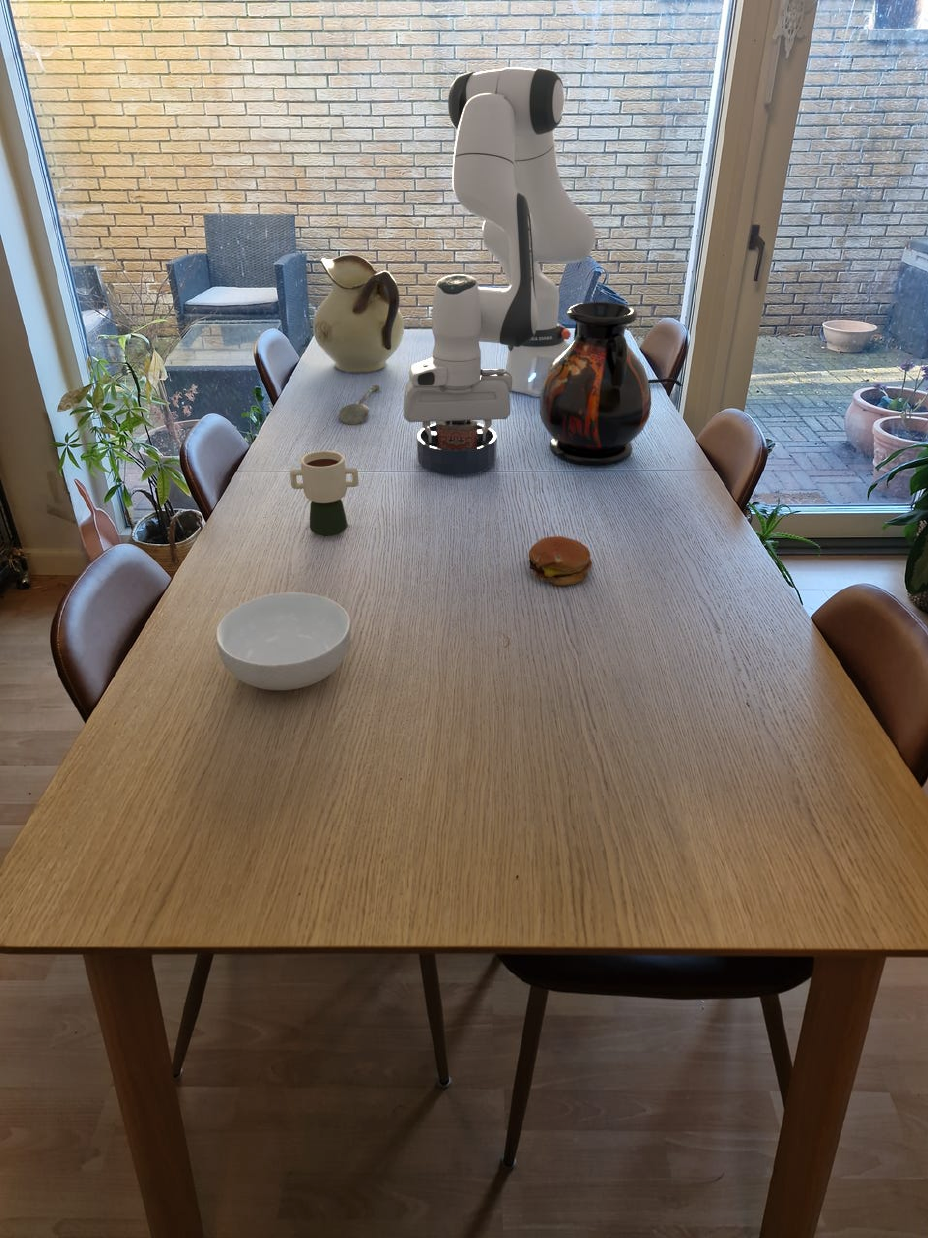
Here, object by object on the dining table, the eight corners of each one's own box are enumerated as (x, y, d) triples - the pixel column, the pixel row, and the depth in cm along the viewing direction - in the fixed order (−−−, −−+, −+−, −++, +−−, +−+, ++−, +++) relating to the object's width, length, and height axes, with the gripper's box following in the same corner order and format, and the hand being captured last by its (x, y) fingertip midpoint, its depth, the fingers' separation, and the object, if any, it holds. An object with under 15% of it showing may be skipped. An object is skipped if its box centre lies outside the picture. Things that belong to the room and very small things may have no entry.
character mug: (361, 520, 152) (357, 449, 145) (361, 539, 146) (356, 466, 139) (297, 522, 151) (289, 451, 144) (294, 542, 145) (286, 468, 138)
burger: (579, 554, 142) (581, 528, 139) (598, 583, 134) (600, 556, 132) (520, 560, 140) (521, 534, 138) (535, 590, 133) (536, 563, 130)
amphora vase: (520, 440, 183) (526, 299, 167) (615, 428, 188) (628, 291, 173) (562, 481, 165) (572, 329, 150) (664, 467, 171) (684, 319, 156)
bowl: (490, 445, 180) (491, 420, 177) (500, 476, 167) (501, 449, 164) (416, 448, 179) (415, 422, 176) (420, 479, 166) (419, 452, 163)
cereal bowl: (294, 727, 106) (288, 680, 102) (195, 682, 113) (186, 637, 109) (379, 657, 118) (376, 613, 114) (284, 621, 125) (279, 578, 122)
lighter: (478, 456, 174) (478, 407, 168) (476, 463, 171) (477, 413, 165) (437, 454, 174) (436, 405, 169) (435, 461, 172) (434, 411, 166)
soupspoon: (334, 425, 191) (364, 429, 190) (334, 411, 189) (363, 414, 188) (363, 389, 208) (390, 392, 208) (363, 375, 206) (390, 378, 206)
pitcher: (330, 351, 235) (322, 250, 221) (417, 355, 232) (415, 253, 218) (305, 377, 216) (295, 269, 202) (400, 382, 213) (396, 273, 200)
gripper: (510, 363, 167) (508, 433, 174) (401, 366, 165) (404, 436, 172) (515, 373, 161) (512, 445, 169) (402, 377, 160) (405, 449, 167)
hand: (457, 441), depth 171 cm, fingers open, 8 cm apart
